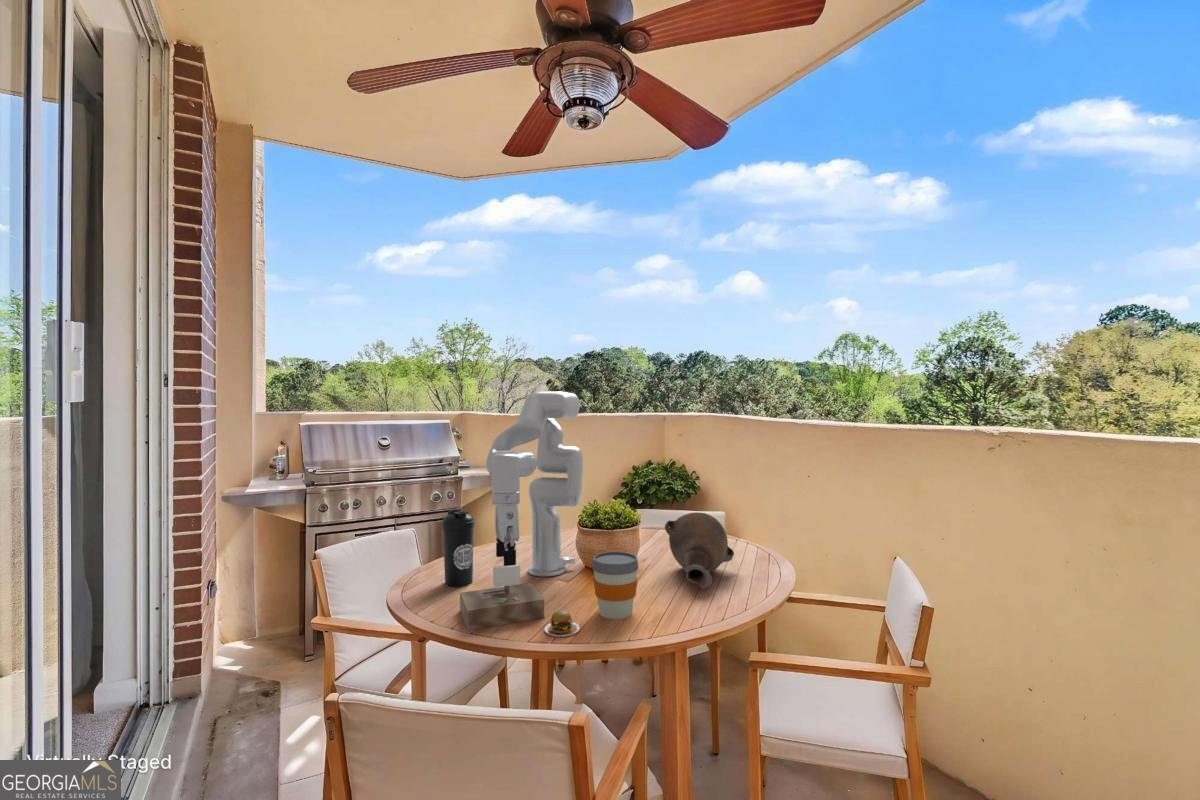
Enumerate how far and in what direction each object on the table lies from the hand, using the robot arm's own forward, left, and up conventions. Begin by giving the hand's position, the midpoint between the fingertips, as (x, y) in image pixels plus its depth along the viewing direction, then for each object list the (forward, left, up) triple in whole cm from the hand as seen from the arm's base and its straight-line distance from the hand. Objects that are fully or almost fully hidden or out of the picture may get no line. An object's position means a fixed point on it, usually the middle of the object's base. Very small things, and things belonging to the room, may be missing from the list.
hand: (505, 560), depth 154 cm
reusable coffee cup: (-27, +13, -14) cm, 33 cm away
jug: (-64, -5, -14) cm, 66 cm away
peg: (+1, 0, -9) cm, 9 cm away
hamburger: (-10, +18, -15) cm, 25 cm away
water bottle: (+9, -29, -14) cm, 34 cm away
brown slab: (+2, +1, -14) cm, 14 cm away
